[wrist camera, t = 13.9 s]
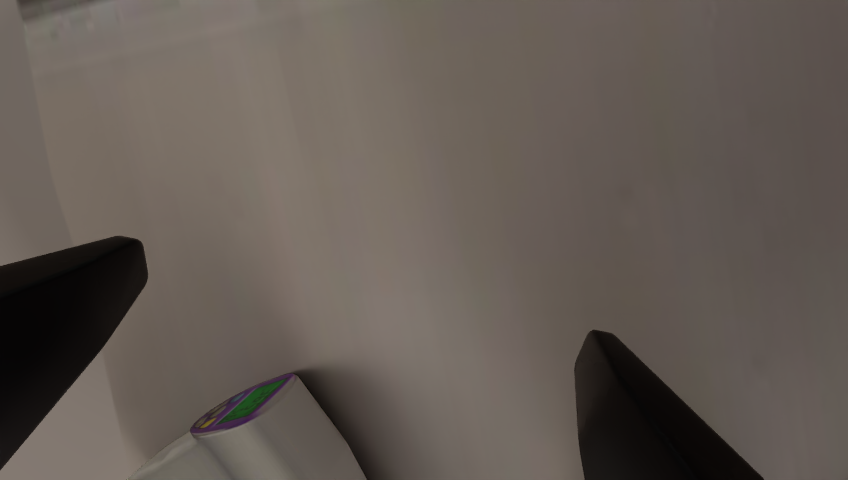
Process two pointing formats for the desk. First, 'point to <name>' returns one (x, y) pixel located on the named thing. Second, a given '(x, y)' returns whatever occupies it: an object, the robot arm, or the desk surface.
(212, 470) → the infrared thermometer
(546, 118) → the desk surface
